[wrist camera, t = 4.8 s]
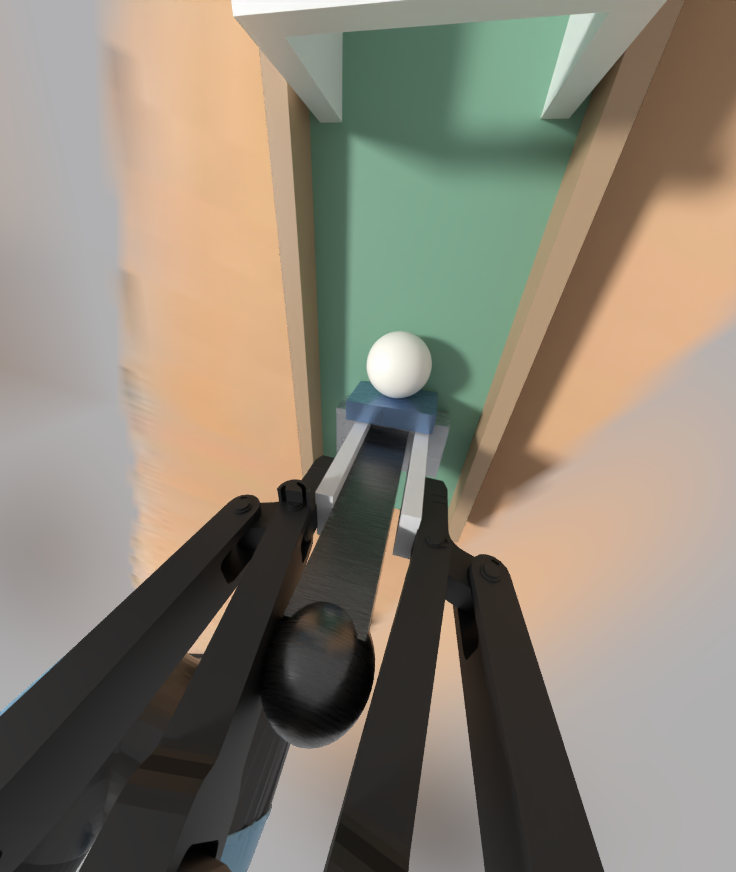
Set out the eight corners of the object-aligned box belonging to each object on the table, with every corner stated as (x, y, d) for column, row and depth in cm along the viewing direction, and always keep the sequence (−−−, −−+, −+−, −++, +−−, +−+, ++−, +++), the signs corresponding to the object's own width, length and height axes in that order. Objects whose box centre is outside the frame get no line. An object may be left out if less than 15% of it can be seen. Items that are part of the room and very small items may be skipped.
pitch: (455, 513, 23) (457, 542, 21) (318, 482, 25) (305, 505, 23) (755, -283, 6) (947, -625, 4) (281, -178, 9) (217, -358, 6)
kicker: (436, 460, 19) (426, 809, 7) (345, 442, 20) (192, 712, 8) (453, 394, 16) (491, 795, 4) (346, 378, 17) (107, 646, 5)
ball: (426, 387, 17) (423, 414, 14) (372, 379, 17) (357, 403, 14) (438, 328, 15) (437, 345, 12) (376, 321, 15) (360, 336, 12)
